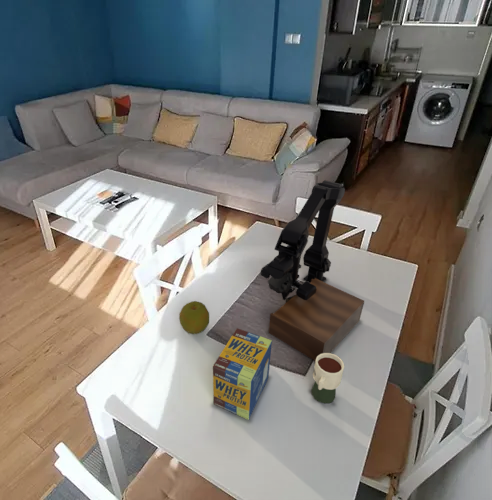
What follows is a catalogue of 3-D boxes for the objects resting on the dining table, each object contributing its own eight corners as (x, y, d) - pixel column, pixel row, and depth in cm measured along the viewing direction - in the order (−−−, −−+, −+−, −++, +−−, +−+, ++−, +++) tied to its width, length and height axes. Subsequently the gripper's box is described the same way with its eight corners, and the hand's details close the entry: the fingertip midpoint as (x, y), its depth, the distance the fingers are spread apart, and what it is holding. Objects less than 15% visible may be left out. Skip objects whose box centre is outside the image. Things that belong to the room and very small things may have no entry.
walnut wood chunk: (309, 296, 140) (312, 276, 135) (359, 321, 128) (364, 300, 124) (268, 332, 125) (270, 312, 120) (320, 364, 114) (324, 343, 109)
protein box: (212, 405, 103) (211, 366, 95) (236, 364, 114) (236, 326, 106) (249, 421, 99) (251, 382, 90) (269, 377, 110) (273, 338, 102)
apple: (187, 315, 133) (185, 291, 127) (213, 322, 130) (213, 297, 124) (175, 335, 125) (173, 310, 119) (203, 342, 122) (202, 317, 116)
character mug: (318, 375, 110) (324, 344, 103) (342, 387, 107) (351, 355, 100) (302, 402, 103) (308, 370, 96) (327, 416, 99) (335, 384, 92)
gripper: (251, 260, 123) (248, 297, 132) (300, 287, 112) (293, 325, 121) (272, 247, 130) (268, 283, 139) (321, 271, 119) (312, 308, 128)
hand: (284, 299), depth 131 cm, fingers closed
